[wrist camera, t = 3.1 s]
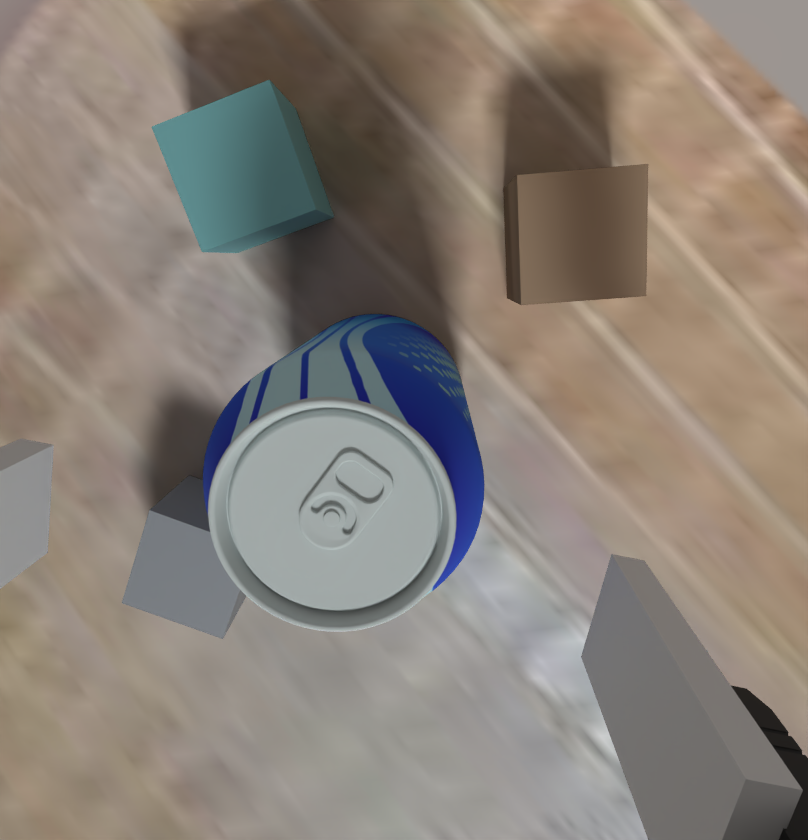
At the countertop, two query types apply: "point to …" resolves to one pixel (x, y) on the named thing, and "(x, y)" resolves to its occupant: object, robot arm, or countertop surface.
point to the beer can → (346, 476)
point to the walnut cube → (576, 235)
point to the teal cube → (243, 170)
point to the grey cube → (182, 565)
